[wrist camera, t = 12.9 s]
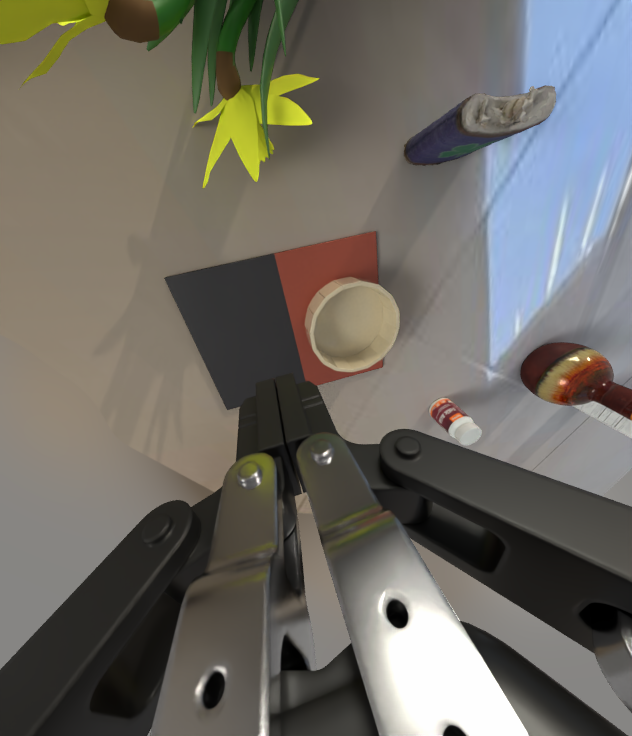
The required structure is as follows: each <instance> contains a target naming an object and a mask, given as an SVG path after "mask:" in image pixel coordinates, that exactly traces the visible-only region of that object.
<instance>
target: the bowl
mask: <svg viewBox="0 0 632 736" xmlns="http://www.w3.org/2000/svg"><path fill="white" fill-rule="evenodd" d="M399 328H400V312H399V309H398V307H397V304H396V302H395V300H394V298H393V296H392V295H391V294H390V293H389V292H388V291H386V290H385V289H384V288H383V287H381V286H380V285H378V284H376V283H373V282H370V281H368V280H365V279H360V278H355V277H346V278H341V279H337V280H333V281H331V282H330V283H329V284H327V285H325V286H324V287H323V288H322V289H320V290H319V291H318V292H317V293H316V295H315V296H314V297H313V299H312V301H311V302H310V304H309V306H308V308H307V313H306V318H305V330H306V334H307V339H308V341H309V343H310V345H311V347H312V349H313V351H314V353H315V354H316V355H317V357H318V358H319V359H320V361H321V362H322V363H323V364H324V365H326V366H328V367H330V368H332V369H333V370H335V371H341V372H356V371H360V370H363V369H367V368H369V367H371V366H372V365H374V364H375V363H377V362H378V361H380V360H381V359H382V358H384V356H385V355H386V354H387V353H388V351H389V350H390V349H391V348H392V346H393V345H394V342H395V340H396V337H397V334H398V332H399ZM392 344H393V345H392Z"/></svg>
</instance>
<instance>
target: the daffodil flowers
mask: <svg viewBox="0 0 632 736" xmlns="http://www.w3.org/2000/svg"><path fill="white" fill-rule="evenodd" d="M274 2H275V6H276V11H275V14H274V16H273V19H272V22H271V25H270V29H269V32H268V36H267V40H266V45H265V50H264V54H263V63H262V72H261V82H260V85H243V86H241V82H240V77H239V74H238V71H237V68H236V65H235V51H236V46H237V42H238V39H239V36H240V33H241V31H242V29H243V27H244V25H245V23H246V20H247V18H248V44H249V62H250V71H251V72H252V68H253V62H254V56H255V49H256V41H257V34H258V27H259V20H260V13H261V8H262V3H263V0H230V6H229V10H228V12H227V14H226V16H225V19H224V22H223V18H224V13H225V8H226V3H227V0H0V44H8V43H14V42H21V41H26V40H27V39H29V38H30V37H32V36H33V35H35V34H36V33H38V32H40V31H41V30H43V29H44V28H46V27H47V26H49V25H50V24H52V23H58V24H59V25H63V26H64V25H66V24H68V23H74V22H77V23H76V24H75V26H74V27H72V28H71V29H70V30H68V31H67V32H65V33H64V34H63V35H61V36H60V38H59V39H58V41H57V42H56V43H55V45H54V46H53V48H52V49H51V50H50V52H49V53H48V55H47V56H46V57H45V59H44V60H43V62H42V63H41V64H40V65H39V66H38V67H37V68H36V69H35V70H34V71H33V73H32V74H31V75H30V76H29V77H28V78H27V79H26V80H25V81H24V83H26V82H27V81H28V80H29V79H31V78H34V77H37V76H40V75H43V74H46V73H47V72H48V70H49V69H50V68H51V67H52V65H53V64H54V63H55V62H56V60H57V59H58V58H59V57H60V55H61V53H62V51H63V50H64V48H65V47H66V45H67V44H68V42H69V41H70V40H71V39H72V38H74V37H75V36H77V35H78V34H80V33H81V32H83V31H84V30H86V29H87V28H90V27H92V26H95V25H97V24H100V23H102V22H105V21H106V22H107V23H108V25H109V26H110V28H111V29H112V30H113V31H114V33H115V34H116V35H118V36H119V37H120V38H122V39H126V40H130V41H134V42H138V43H142V42H148V45H147V50H148V51H150V50H152V49H153V48H154V47H156V46H157V45H158V44H159V43H161V42H162V41H163V40H164V39H165V38H166V37H167V36H168V35H169V34H170V33H171V32H172V31H173V30H174V29H175V28H176V27H177V25H178V24H179V23H181V24H182V21H183V19H184V17H185V16H186V15H187V13H188V12H189V11H190V9H191V8H192V7H193V5H194V20H193V40H192V94H193V109H194V113H195V114H196V111H197V107H198V103H199V99H200V93H201V87H202V80H203V74H204V67H205V61H206V56H207V50H208V76H209V92H210V103H211V106H212V104H213V98H214V91H215V80H216V77H217V85H218V90H219V92H220V94H221V95H222V96H223V97H224V98H223V99H222V101H221V102H220V103H219V105H218V106H217V107H216V108H214V109H213V110H212V111H210V112H209V113H207V114H206V115H205V116H204V117H202V118H201V119H199V120H198V121H197V122H195V123H194V126H195V125H196V124H197V123H198V122H201V121H209V120H212V119H213V118H215V117H216V116H217V115H218V114H219V113H220V111H221V114H220V118H219V123H218V127H217V130H216V134H215V137H214V140H213V144H212V147H211V150H210V154H209V159H208V163H207V168H206V173H205V178H204V182H203V188H204V187H205V186H206V184H207V183H208V178H209V174H210V171H211V170H212V168H213V166H214V164H215V163H216V161H217V159H218V158H219V156H220V155H221V153H222V151H223V150H224V148H225V147H226V145H227V143H228V142H229V140H230V138H231V139H232V141H233V143H234V145H235V148H236V150H237V152H238V154H239V156H240V158H241V160H242V162H243V164H244V165H245V167H246V169H247V170H248V172H249V173H250V175H251V177H252V178H253V180H254V181H255V182H257V180H258V177H259V165H260V160H262V161H264V162H265V157H267V158H270V153H271V154H273V151H272V149H273V150H274V148H273V144H272V143H271V141H270V140H269V138H268V129H267V124H274V125H310V124H312V121H311V119H310V118H309V117H308V115H307V114H306V113H305V112H304V111H303V110H302V109H301V108H300V106H299V105H297V104H296V103H294V102H293V101H291V100H290V99H288V98H286V97H281V96H279V95H281V94H284V93H286V92H289V91H292V90H294V89H297V88H300V87H303V86H305V85H308V84H310V83H312V82H314V81H316V80H318V79H320V78H313V77H307V76H304V75H301V74H292V75H285V76H282V77H279V78H277V79H274V80H272V81H271V75H272V70H273V66H274V61H275V58H276V54H277V51H278V48H279V45H280V42H281V40H282V45H283V49H284V53H285V57H286V47H285V35H284V31H285V29H286V27H287V24H288V22H289V20H290V17H291V15H292V13H293V11H294V9H295V7H296V5H297V3H298V0H274ZM222 23H223V25H222ZM24 83H23V84H24ZM23 84H22V85H23ZM20 88H21V87H20ZM261 124H263V128H262V126H261ZM194 126H193V127H194ZM263 129H264V130H263Z"/></svg>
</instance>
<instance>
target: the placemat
mask: <svg viewBox="0 0 632 736" xmlns="http://www.w3.org/2000/svg"><path fill="white" fill-rule="evenodd" d="M346 277H355V278H360V279H365V280H368V281H370V282H373V283H376V284H378V265H377V246H376V231H374V232H370V233H365V234H361V235H356V236H351V237H347V238H342V239H338V240H333V241H329V242H324V243H320V244H315V245H311V246H306V247H302V248H297V249H293V250H288V251H283V252H279V253H274V254H270V255H265V256H261V257H256V258H252V259H247V260H243V261H238V262H234V263H229V264H225V265H220V266H216V267H211V268H206V269H202V270H197V271H193V272H188V273H184V274H179V275H175V276H170V277H166V278H164V279H165V281H166V283H167V285H168V287H169V289H170V291H171V293H172V295H173V297H174V299H175V302H176V304H177V306H178V308H179V310H180V312H181V314H182V316H183V318H184V320H185V323H186V325H187V327H188V329H189V331H190V333H191V335H192V337H193V339H194V341H195V343H196V346H197V348H198V350H199V352H200V354H201V356H202V358H203V360H204V362H205V364H206V366H207V369H208V371H209V373H210V375H211V377H212V379H213V381H214V383H215V385H216V387H217V390H218V392H219V394H220V396H221V398H222V400H223V402H224V404H225V406H226V408H227V410H229V409H233V408H236V407H240V406H242V404H243V402H244V401H245V399H247V398H250V397H254V396H256V383H257V382H261V381H264V380H268V379H271V378H274V379H275V377H278V376H282V375H286V374H289V373H293V375H294V378H295V381H296V384H299V383H303V382H306V381H310V382H311V383H313V384H314V385H320V384H324V383H327V382H331V381H335V380H338V379H342V378H345V377H349V376H353V375H356V374H360V373H364V372H367V371H371V370H375V369H378V368H382V367H383V362H382V359H381V360H380V361H378V362H377V363H375V364H374V365H372V366H371V367H369V368H367V369H363V370H360V371H356V372H341V371H335V370H333V369H332V368H330V367H328V366H326V365H324V364H323V363H322V362H321V361H320V359H319V358H318V357H317V355H316V354H315V353H314V351H313V349H312V347H311V345H310V343H309V341H308V339H307V334H306V330H305V318H306V313H307V308H308V306H309V304H310V302H311V301H312V299H313V297H314V296H315V295H316V293H317V292H318V291H319V290H320V289H322V288H323V287H324V286H325V285H327V284H329V283H330V282H331V281H333V280H337V279H341V278H346ZM275 382H276V379H275Z"/></svg>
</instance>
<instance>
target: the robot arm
mask: <svg viewBox="0 0 632 736" xmlns="http://www.w3.org/2000/svg"><path fill="white" fill-rule="evenodd" d="M275 379H276V382H275ZM275 379H274V378H271V379H268V380H264V381H261V382H257V383H256V396H254V397H250V398H247V399H245V401H244V402H243V404H242V406H241V407H240V410H239V425H238V427H239V429H238V440H237V455H236V462H235V463H234V464H233V465H232V466H231V468H230V469H229V470H228V472H227V473H226V476H225V478H224V482H223V486H222V487H221V488H220V489H219V490H217V491H216V492H215V493H213V494H212V495H210V496H208V497H207V498H205V499H204V500H202V501H201V502H199V503H197V504H195V505H194V506H193V507H190V506H189V505H188V503H186V502H184V501H181V500H175V501H170V502H167V503H164V504H162V505H160V506H159V507H157V508H155V509H154V510H152V511H151V512H150V513H149V514H148V515H146V516H145V517H144V518H143V519H142V520H141V521H140V522H139V524H138V525H137V526H136V527H135V528H134V529H133V530H132V531H131V532H130V533H129V534H128V535H127V536H126V537H125V538H124V539H123V540H122V541H121V543H120V544H119V545H118V546H117V547H116V548H115V549H114V550H113V551H112V552H111V553H110V554H109V555H108V556H107V557H106V558H105V559H104V561H103V562H102V563H101V564H100V565H99V566H98V567H97V568H96V569H95V570H94V571H93V572H92V573H91V574H90V575H89V576H88V578H87V579H86V580H85V581H84V582H83V583H82V584H81V585H80V586H79V587H78V588H77V589H76V590H75V591H74V592H73V593H72V594H71V595H70V597H69V598H68V599H67V600H66V601H65V602H64V603H63V604H62V605H61V606H60V607H59V608H58V609H57V610H56V611H55V612H54V614H53V615H52V616H51V617H50V618H49V619H48V620H47V621H46V622H45V623H44V624H43V625H42V626H41V627H40V628H39V629H38V631H37V632H36V633H35V634H34V635H33V636H32V637H31V638H30V639H29V640H28V641H27V642H26V643H25V644H24V645H23V646H22V647H21V648H20V649H19V650H18V652H17V653H16V654H15V655H14V656H13V657H12V658H11V659H10V660H9V661H8V662H7V663H6V664H5V666H3V667H2V668H1V670H0V736H147V735H148V733H149V731H150V729H151V728H152V729H151V733H150V736H628V735H626V734H625V733H624V732H622V731H621V730H620V729H618V728H617V727H616V726H615V725H613V724H612V723H610V722H609V721H608V720H606V719H605V718H604V717H602V716H601V715H600V714H599V713H597V712H596V711H595V710H593V709H592V708H591V707H589V706H588V705H587V704H585V703H584V702H583V701H581V700H580V699H579V698H577V697H576V696H575V695H573V694H572V693H571V692H569V691H568V690H567V689H566V688H564V687H563V686H562V685H560V684H559V683H558V682H556V681H555V680H554V679H552V678H551V677H550V676H548V675H547V674H546V673H544V672H543V671H542V670H540V669H539V668H538V667H536V666H535V665H534V664H532V663H531V662H530V661H528V660H527V659H526V658H524V657H523V656H522V655H520V654H519V653H518V652H516V651H515V650H514V649H512V648H511V647H510V646H508V645H507V644H505V643H504V642H502V641H501V640H499V639H498V638H496V637H494V636H492V635H491V634H489V633H487V632H486V631H484V630H481V629H480V628H477V627H475V626H473V625H471V624H469V623H466V622H462V621H459V619H458V617H457V616H456V614H455V612H454V611H453V609H452V607H451V606H450V604H449V603H448V601H447V599H446V597H445V596H444V594H443V592H442V591H441V589H440V588H439V586H438V584H437V583H436V581H435V579H434V578H433V576H432V575H431V573H430V571H429V569H428V568H427V566H426V564H425V563H424V561H423V559H422V558H421V556H420V554H419V553H418V551H417V549H416V548H415V546H414V544H413V543H412V541H411V540H410V538H411V539H412V540H414V541H415V542H417V543H419V544H420V545H422V546H424V547H425V548H427V549H428V550H430V551H431V552H433V553H435V554H436V555H438V556H440V557H441V558H443V559H444V560H446V561H448V562H449V563H451V564H452V565H454V566H455V567H457V568H459V569H460V570H462V571H463V572H465V573H467V574H468V575H470V576H471V577H473V578H475V579H476V580H478V581H479V582H481V583H483V584H484V585H486V586H488V587H489V588H491V589H492V590H494V591H495V592H497V593H499V594H500V595H502V596H504V597H505V598H507V599H508V600H510V601H511V602H513V603H515V604H516V605H518V606H520V607H521V608H523V609H524V610H526V611H527V612H529V613H531V614H532V615H534V616H535V617H537V618H539V619H540V620H542V621H543V622H545V623H547V624H548V625H550V626H552V627H553V628H555V629H556V630H558V631H560V632H561V633H563V634H564V635H566V636H567V637H569V638H571V639H572V640H574V641H576V642H577V643H579V644H580V645H582V646H583V647H585V648H587V649H588V650H590V651H591V652H593V653H595V656H596V659H597V662H598V664H599V666H600V668H601V671H602V673H603V674H604V676H605V678H606V679H607V681H608V683H609V685H610V686H611V687H612V689H613V691H614V692H615V693H616V695H617V696H618V698H619V699H620V700H621V701H622V702H623V703H624V704H625V706H626V707H627V708H628V709H629V710H630V711H631V713H632V507H630V506H627V505H625V504H622V503H619V502H616V501H614V500H611V499H608V498H605V497H602V496H599V495H597V494H594V493H591V492H588V491H585V490H582V489H580V488H577V487H574V486H571V485H568V484H565V483H563V482H560V481H557V480H554V479H551V478H548V477H546V476H543V475H540V474H537V473H534V472H531V471H529V470H526V469H523V468H520V467H517V466H514V465H512V464H509V463H506V462H503V461H500V460H497V459H495V458H492V457H489V456H486V455H483V454H480V453H478V452H475V451H472V450H469V449H466V448H463V447H461V446H458V445H455V444H452V443H449V442H446V441H444V440H441V439H438V438H435V437H432V436H429V435H427V434H424V433H421V432H418V431H415V430H410V429H398V430H394V431H391V432H389V433H388V434H386V435H385V436H384V437H383V438H382V440H381V442H380V444H367V445H363V444H354V443H351V442H349V441H346V440H345V439H343V438H342V437H341V436H340V435H339V434H338V432H337V431H336V428H335V426H334V424H333V422H332V419H331V417H330V415H329V413H328V410H327V408H326V406H325V403H324V401H323V399H322V397H321V394H320V392H319V390H318V387H317V386H316V385H314V384H313V383H311V382H310V381H306V382H303V383H299V384H296V381H295V378H294V375H293V373H289V374H286V375H282V376H278V377H275ZM299 481H300V482H299ZM300 484H301V486H302V489H303V492H304V493H305V492H307V496H308V499H309V502H310V505H311V509H312V512H313V515H314V519H315V522H316V525H317V528H318V532H319V535H320V539H321V543H322V547H323V550H324V554H325V557H326V560H327V563H328V566H329V570H330V573H331V577H332V580H333V583H334V587H335V590H336V593H337V597H338V600H339V603H340V607H341V610H342V613H343V616H344V620H345V623H346V626H347V630H348V633H349V636H350V640H351V644H350V645H349V646H348V647H346V648H345V649H344V650H343V651H342V652H341V653H340V654H339V655H338V656H337V657H335V658H334V659H333V660H332V661H331V662H330V663H329V664H328V665H327V666H325V667H324V668H323V669H320V670H317V669H316V659H315V650H314V640H313V633H312V627H311V621H310V616H309V612H308V608H307V602H306V596H305V585H304V574H303V563H302V552H301V541H300V530H299V521H298V517H297V509H296V503H295V497H294V496H296V495H299V494H302V493H301V487H300Z"/></svg>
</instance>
